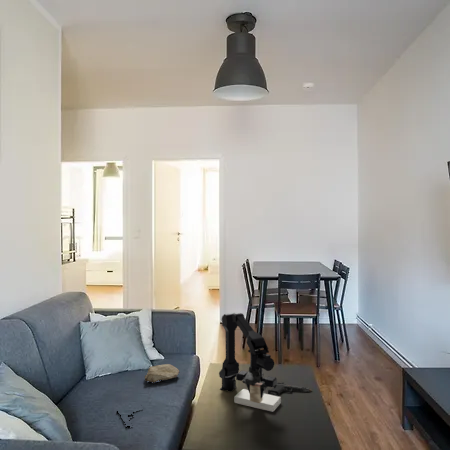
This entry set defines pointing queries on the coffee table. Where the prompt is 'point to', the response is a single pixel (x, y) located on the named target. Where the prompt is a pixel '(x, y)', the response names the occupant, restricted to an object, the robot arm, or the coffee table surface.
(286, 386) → the handgun
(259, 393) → the brown and pink block
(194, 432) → the coffee table surface
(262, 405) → the panel
